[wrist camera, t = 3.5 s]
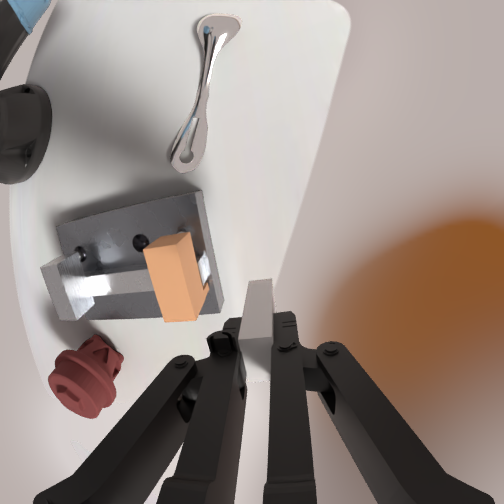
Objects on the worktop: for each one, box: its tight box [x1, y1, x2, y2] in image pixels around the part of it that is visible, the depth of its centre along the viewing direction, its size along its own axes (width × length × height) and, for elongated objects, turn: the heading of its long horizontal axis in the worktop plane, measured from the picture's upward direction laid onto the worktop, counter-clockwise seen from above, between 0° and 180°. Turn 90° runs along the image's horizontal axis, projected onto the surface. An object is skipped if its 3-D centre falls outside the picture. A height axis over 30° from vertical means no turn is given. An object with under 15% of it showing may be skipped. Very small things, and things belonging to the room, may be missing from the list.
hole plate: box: [56, 190, 224, 320], centre depth 30 cm, size 13×19×3 cm
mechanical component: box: [48, 334, 124, 419], centre depth 31 cm, size 12×10×10 cm
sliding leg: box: [143, 231, 209, 322], centre depth 25 cm, size 7×3×6 cm, turn 9°
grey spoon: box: [171, 13, 242, 173], centre depth 24 cm, size 20×4×5 cm
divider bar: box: [40, 250, 207, 320], centre depth 26 cm, size 6×18×6 cm, turn 99°
